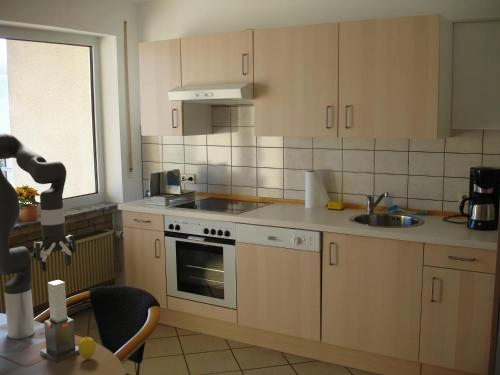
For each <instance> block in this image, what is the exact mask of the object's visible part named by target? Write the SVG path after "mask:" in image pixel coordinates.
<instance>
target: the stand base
mask: <svg viewBox="0 0 500 375" xmlns="http://www.w3.org/2000/svg"><path fill="white" fill-rule="evenodd" d="M67 317H68V320H67V321H65V322H62V323H59V324H54V323H52V322H51V321H50V318H49V319H46V320H44V321H43V322H44V334H45V348H42V349H41V350H39V354H40V355H41V356H43V357H44V358H46V359H48V360H49V361H50V362H52V363H59V362H63V361H64V360H66V359H70V358H73V357H74V355H75V356H77V355H80V354H79V349H78V347H79V345H78V346H77V345H76V336H75V335H76V334H75V320H74V319H73V318H71V317H69V316H67Z"/></svg>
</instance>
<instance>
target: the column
mask: <svg viewBox="0 0 500 375" xmlns="http://www.w3.org/2000/svg"><path fill="white" fill-rule="evenodd" d="M47 291H48V305H49V319H50V321H51V322H52V323H54V324H59V323H62V322H65V321H67V320H68V317H69V316H68V310H67V296H66V282H65V281H62V280H60V279H56V280H52V281H48V282H47Z"/></svg>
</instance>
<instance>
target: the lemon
mask: <svg viewBox="0 0 500 375" xmlns="http://www.w3.org/2000/svg"><path fill="white" fill-rule="evenodd" d="M96 348H97V346H96V342H95V341H94V339H93V338H92V337H89V336H85V337H83V338H82V339H80V341H79V343H78V349H79V354H78V355H80V357H82V358H83V359H86V360H89V359H91V358H92V357H94V355H95V353H96Z"/></svg>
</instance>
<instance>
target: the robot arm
mask: <svg viewBox="0 0 500 375" xmlns="http://www.w3.org/2000/svg"><path fill="white" fill-rule="evenodd" d="M8 159H15V161H16V164H17V166H18V167H19V168H20V169H22V170H23V171H24V172H26V173H28V174H29V175H30V176H31V178H32V180H33V181H34V183H36V184H39V185H48V184H51V185H50V187H49V188H48V189H46V190H44V191H41V193H40V194H39V204H40V216H39V217H40V226H41V228H40V229H41V239H42V240H41V241H33V242H32V256H31V253H30V250H29V249H28V248H27V247H26V246H18V247H12V248H10V238H11V234H12V232H13V229H14V227H15V226H16V224H17V221H18V219H19V217H20V213H21V207H20V199H19V194H18V192H17V190H16V189H15V188H14V186H13V185H12V183H11V182H10V181H9V180H8V179H7V177H6V176H5V174H4V172H3V170H2V168H1V166H0V274H1V275H2V276H9V275H14V274H15V275H14V276H13V277H12V278H10V280H8V281H7V282H5V283H4V285H3V290H4V291H3V292H4V302H5V316H6V324H7V337H8V338H9V339H12V340H14V339H15V340H19V339H25V338H28V337H31V336H33V335H34V334H35V320H34V308H33V307H34V306H33V295H32V294H33V293H32V280H33V277H32V276H33V274H32V260H35V261H38V262H39V270H40V271H41V272H43V273H46V272H47V271H48V270H47V261H46V260H47V258H48V256H49V255H50V254H51V253H55V252H60V251H61V252H63V254H64V266H66V267H70V266H71V264H72V254H74V253H76V252H77V246H76V239H75V235H73V234H72V235H71V234H68V235H67V236H66V233H67V232H66V221H65V220H66V219H65V218H66V217H65V211H64V203H63V194H64V190H65V184H66V180H67V168H66V166H65V164H63V162H62V161H47V160H46V158H44V157H43V156H42V155H40V154H38V153H37V152H34V151H33V150H31V149H29V148H28V147H27V146H26V145H25V144H24V143H22V142H21V140H20V139H18V138H17V137H16V136H15V135H13V134H11V133H0V160H8ZM66 242H67V243H68V247H67V245H66ZM42 246H43V248H42ZM41 249H42V250H41Z"/></svg>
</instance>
